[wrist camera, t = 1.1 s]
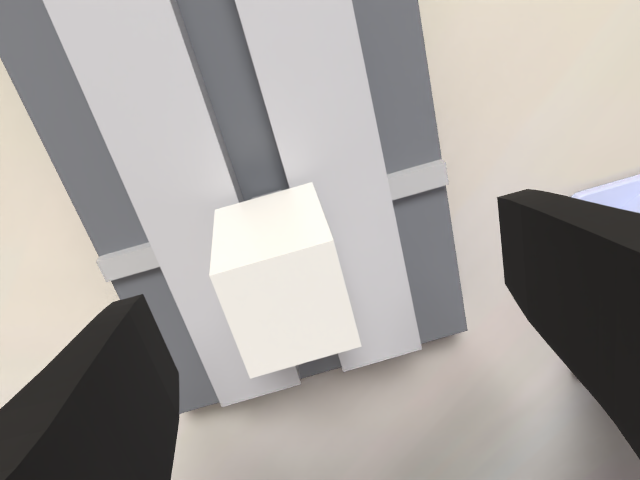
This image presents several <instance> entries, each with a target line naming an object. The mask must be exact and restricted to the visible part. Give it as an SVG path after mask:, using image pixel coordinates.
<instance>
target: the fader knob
mask: <svg viewBox="0 0 640 480" xmlns="http://www.w3.org/2000/svg"><path fill="white" fill-rule="evenodd" d="M209 276H210V279H211V281H212V284H213V286H214V289H215V291H216V294H217V297H218V299H219V302H220V304H221V307H222V309H223V312H224V314H225V317H226V319H227V322H228V324H229V327H230V329H231V332H232V334H233V337H234V339H235V342H236V344H237V347H238V350H239V352H240V355H241V357H242V360H243V362H244V365H245V367H246V370H247V372H248V375H249V377H250V379H251V378H254V377H258V376H261V375H265V374H268V373H272V372H275V371H278V370H282V369H285V368H289V367H292V366H296V365H299V364H303V363H306V362H310V361H313V360H317V359H320V358H323V357H327V356H330V355H334V354H337V353H341V352H344V351H348V350H351V349H355V348H358V347H361V342H360V338H359V334H358V330H357V327H356V323H355V319H354V315H353V312H352V308H351V304H350V300H349V296H348V293H347V289H346V285H345V281H344V278H343V274H342V270H341V266H340V262H339V259H338V255H337V251H336V247H335V244H334V240H333V237H332V234H331V232H330V229H329V226H328V224H327V221H326V218H325V215H324V213H323V210H322V207H321V205H320V202H319V199H318V196H317V194H316V191H315V188H314V186H313V183H312V182H311V183H307V184H304V185H300V186H297V187H293V188H290V189H286V190H282V191H281V190H277V191H274V192H270V193H267V194H263V195H260V196H256V197H253V198H252V199H251V200H247V201H244V202H240V203H237V204H233V205H230V206H226V207H223V208H219V209H216V210H215V214H214V226H213V237H212V249H211V261H210V273H209Z"/></svg>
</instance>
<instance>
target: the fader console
mask: <svg viewBox="0 0 640 480" xmlns="http://www.w3.org/2000/svg"><path fill="white" fill-rule="evenodd" d="M0 58H1V60H2V62H3V64H4V66H5V68H6V70H7V72H8V74H9V76H10V78H11V80H12V82H13V84H14V86H15V88H16V90H17V92H18V94H19V96H20V98H21V100H22V102H23V104H24V106H25V108H26V110H27V112H28V114H29V116H30V118H31V120H32V122H33V124H34V126H35V128H36V130H37V132H38V134H39V136H40V139H41V141H42V143H43V145H44V147H45V149H46V151H47V153H48V155H49V157H50V159H51V161H52V163H53V165H54V167H55V169H56V171H57V173H58V175H59V177H60V179H61V181H62V183H63V185H64V187H65V189H66V191H67V193H68V195H69V197H70V199H71V201H72V203H73V205H74V207H75V209H76V211H77V213H78V215H79V217H80V219H81V221H82V223H83V225H84V227H85V229H86V231H87V233H88V235H89V237H90V239H91V241H92V243H93V245H94V248H95V250H96V252H97V254H98V256H99V257H98V259H97V261H96V262H97V264H98V266H99V268H100V270H101V272H102V274H103V276H104V278H105V280H106V282H108V281H111V282H112V284H113V286H114V288H115V290H116V292H117V294H118V296H119V298H120V300H122V299H126V298H130V297H133V296H137V295H141V294H143V295H144V297H145V299H146V301H147V303H148V306H149V308H150V310H151V312H152V315H153V317H154V319H155V321H156V323H157V326H158V328H159V330H160V332H161V334H162V337H163V339H164V341H165V343H166V346H167V348H168V350H169V352H170V354H171V357H172V359H173V361H174V363H175V366H176V368H177V370H178V372H179V397H180V399H179V414H181V413H184V412H188V411H191V410H195V409H198V408H201V407H205V406H208V405H212V404H215V403H219V402H220V404H221V406H222V407H225V406H228V405H232V404H235V403H239V402H242V401H245V400H249V399H252V398H256V397H259V396H263V395H266V394H270V393H273V392H277V391H280V390H283V389H287V388H290V387H294V386H297V385H301V380H300V379H302V378H305V377H309V376H312V375H316V374H319V373H322V372H326V371H329V370H333V369H336V368H340V367H342V369H343V372H346V371H349V370H353V369H356V368H359V367H363V366H366V365H370V364H373V363H377V362H380V361H384V360H387V359H391V358H394V357H397V356H401V355H404V354H408V353H411V352H415V351H418V350H422V347H421V344H423V343H426V342H430V341H433V340H437V339H440V338H443V337H447V336H450V335H454V334H457V333H461V332H464V331H467V324H466V317H465V311H464V304H463V297H462V291H461V284H460V277H459V271H458V264H457V257H456V251H455V244H454V237H453V231H452V224H451V218H450V211H449V204H448V198H447V191H446V185H448V184H449V182H448V175H447V168H446V162H445V161H443V160H442V158H441V151H440V144H439V138H438V131H437V124H436V118H435V111H434V104H433V98H432V91H431V84H430V78H429V71H428V64H427V58H426V51H425V44H424V38H423V31H422V25H421V18H420V11H419V5H418V0H0ZM311 182H312V183H313V186H314V188H315V191H316V194H317V196H318V199H319V202H320V205H321V207H322V210H323V213H324V215H325V218H326V221H327V224H328V226H329V229H330V232H331V234H332V237H333V240H334V244H335V247H336V251H337V255H338V259H339V262H340V266H341V270H342V274H343V278H344V281H345V285H346V289H347V293H348V296H349V300H350V304H351V308H352V312H353V315H354V319H355V323H356V327H357V330H358V334H359V338H360V342H361V347H358V348H355V349H351V350H348V351H344V352H341V353H337V354H334V355H330V356H327V357H323V358H320V359H317V360H313V361H310V362H306V363H303V364H299V365H296V366H292V367H289V368H285V369H282V370H278V371H275V372H272V373H268V374H265V375H261V376H258V377H254V378H251V379H250V377H249V375H248V372H247V370H246V367H245V365H244V362H243V360H242V357H241V355H240V352H239V350H238V347H237V344H236V342H235V339H234V337H233V334H232V332H231V329H230V327H229V324H228V322H227V319H226V317H225V314H224V312H223V309H222V307H221V304H220V302H219V299H218V297H217V294H216V291H215V289H214V286H213V284H212V281H211V279H210V276H209V273H210V261H211V249H212V237H213V226H214V214H215V210H216V209H219V208H223V207H226V206H230V205H233V204H237V203H240V202H244V201H247V200H251V199H252V198H253V197H256V196H260V195H263V194H267V193H270V192H274V191H277V190H281V191H282V190H286V189H290V188H293V187H297V186H300V185H304V184H307V183H311Z"/></svg>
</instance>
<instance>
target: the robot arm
mask: <svg viewBox="0 0 640 480" xmlns="http://www.w3.org/2000/svg"><path fill="white" fill-rule="evenodd" d="M497 199H498V210H499V222H500V233H501V244H502V255H503V266H504V278H505V284H506V286H507V288H508V289H509V291H510V293H511V294H512V296H513V297H514V299H515V301H516V302H517V304H518V306H519V307H520V309H521V310H522V312H523V313H524V315H525V316H526V318H527V319H528V321H529V322H530V323H531V325H532V326H533V327H534V328H535V329H536V331H537V332H538V333H539V334H540V335H541V336H542V338H543V339H544V340H545V341H546V342H547V344H548V345H549V346H550V347H551V348H552V349H553V351H554V352H555V353H556V354H557V355H558V356H559V357H560V359H561V360H562V361H563V362H564V363H565V364H566V366H567V367H568V368H569V369H570V370H571V371H572V372H573V374H574V375H575V376H576V377H577V378H578V379H579V381H580V382H581V383H582V384H583V385H584V386H585V387H586V389H587V390H588V391H589V392H590V393H591V394H592V396H593V397H594V398H595V399H596V400H597V401H598V402H599V404H600V405H601V406H602V408H603V409H604V410H605V411H606V413H607V414H608V415H609V416H610V418H611V419H612V420H613V421H614V423H615V424H616V426H617V427H618V428H619V430H620V431H621V433H622V434H623V436H624V437H625V439H626V440H627V441H628V443H629V444H630V446H631V447H632V449H633V450H634V452H635V453H636V454H637V456H638V457H639V459H640V174H639V175H636V176H632V177H629V178H625V179H622V180H618V181H615V182H611V183H608V184H604V185H601V186H597V187H594V188H590V189H587V190H583V191H580V192H577V193H575V194H574V195H573V196H572V197H568V196H563V195H559V194H554V193H550V192H544V191H539V190H530V189H526V190H522V191H519V192H515V193H511V194H508V195H504V196H500V197H497ZM179 399H180V397H179V372H178V370H177V368H176V366H175V363H174V361H173V359H172V357H171V354H170V352H169V350H168V348H167V346H166V343H165V341H164V339H163V337H162V334H161V332H160V330H159V328H158V326H157V323H156V321H155V319H154V317H153V315H152V312H151V310H150V308H149V306H148V303H147V301H146V299H145V297H144V295H143V294H141V295H137V296H133V297H130V298H126V299H122V300H119V301H115V302H112V303H111V304H110V305H109V306H107V307H106V308H105V309H104V310H103V311H101V312H100V313H99V314H98V315H97V316H96V317H95V318H94V319H93V320H92V321H91V322H90V323H89V324H88V325H87V326H86V327H85V328H84V329H83V330H82V331H81V332H80V333H79V334H78V335H77V336H76V337H75V338H74V339H73V340H72V341H71V342H70V343H69V344H68V345H67V346H66V347H65V348H64V349H63V350H62V351H61V352H60V353H59V354H58V355H57V356H56V357H55V358H54V359H53V360H52V361H51V362H50V363H49V364H48V365H47V366H46V367H45V368H44V369H43V370H42V371H41V372H40V373H39V374H38V375H36V376H35V377H34V378H33V379H32V380H31V381H30V382H29V383H28V384H27V385H26V386H25V387H24V388H23V389H21V390H20V391H19V392H18V393H17V394H16V395H15V396H14V397H13V398H12V399H11V400H10V401H9V402H8V403H6V404H5V405H4V406H3V407H2V408H1V409H0V480H171V473H172V466H173V460H174V453H175V446H176V439H177V432H178V424H179Z"/></svg>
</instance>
